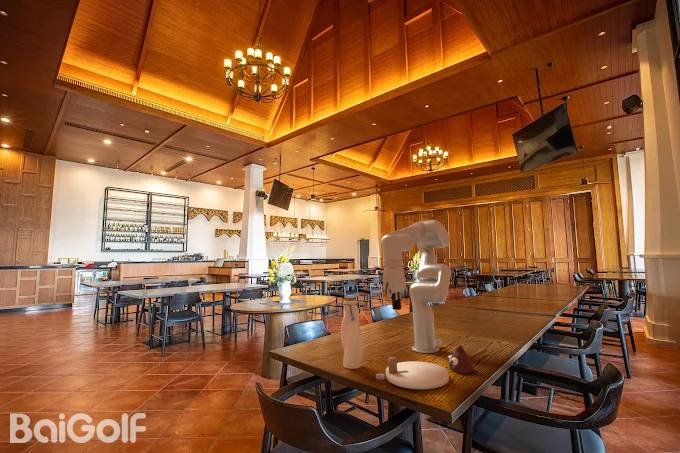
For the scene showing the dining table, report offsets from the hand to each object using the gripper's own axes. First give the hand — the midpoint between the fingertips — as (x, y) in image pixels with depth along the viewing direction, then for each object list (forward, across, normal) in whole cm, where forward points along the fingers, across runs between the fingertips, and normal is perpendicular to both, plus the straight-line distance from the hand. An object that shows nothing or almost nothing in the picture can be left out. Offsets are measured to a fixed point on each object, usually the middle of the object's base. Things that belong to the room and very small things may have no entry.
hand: (397, 309), depth 130 cm
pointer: (+22, +16, +2) cm, 27 cm away
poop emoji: (+23, -10, +20) cm, 33 cm away
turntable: (+22, +8, +12) cm, 27 cm away
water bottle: (+22, +13, -15) cm, 30 cm away
